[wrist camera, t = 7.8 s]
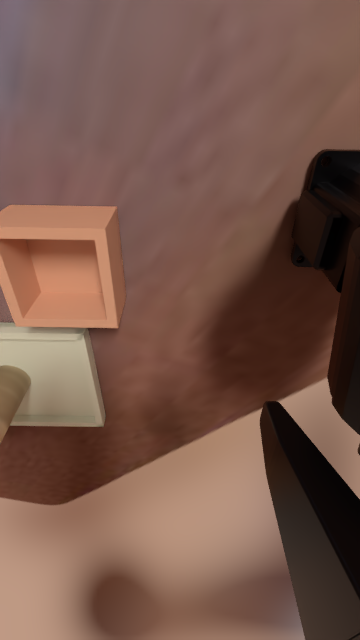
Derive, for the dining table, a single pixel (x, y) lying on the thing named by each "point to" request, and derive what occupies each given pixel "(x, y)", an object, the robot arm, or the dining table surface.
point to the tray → (54, 375)
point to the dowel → (11, 394)
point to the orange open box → (62, 265)
